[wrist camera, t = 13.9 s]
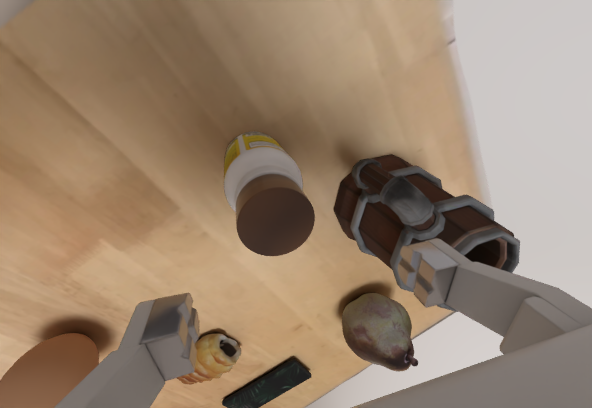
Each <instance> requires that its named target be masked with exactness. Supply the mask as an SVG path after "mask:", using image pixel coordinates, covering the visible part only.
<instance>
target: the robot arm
mask: <svg viewBox="0 0 592 408" xmlns="http://www.w3.org/2000/svg"><path fill="white" fill-rule="evenodd" d="M400 255H401V256H402V259H401V260H400V262H399V263H398V273H399V276H400V278H401V280H402V281H403V283H404V284H405V285H406V286H408V287H410V288H412V289H413V291H414V295H415V296H416V297H417V298H418V300H419V301H420V302H421V303H422V304H423V305H424V306H425V307H430V306H434V305H439V304H443V303H446V305H448V306H450V307H452V308H453V309H455V310H457V311H459V312H461V313H463V314H464V315H466V316H468V317H469V318H471V319H473V320H475V321H477V322H479V323H480V324H482V325H484V326H485V327H487V328H489V329H491V330H493V331H494V332H496V333H498V334H500V335H501V336H503V337H504V339H503V341H502V342H501V345H500V351H501V352H502V353H503V354H504V355H501V356H498V357H495V358H493V359H490V360H487V361H484V362H481V363H478V364H475V365H472V366H470V367H467V368H464V369H461V370H458V371H455V372H452V373H450V374H447V375H444V376H441V377H438V378H435V379H432V380H429V381H427V382H424V383H421V384H418V385H415V386H412V387H409V388H406V389H403V390H400V391H398V392H395V393H392V394H389V395H386V396H383V397H380V398H377V399H375V400H372V401H369V402H366V403H363V404H360V405H357V406H354V407H352V408H592V309H591V308H590V307H588V306H587V305H585V304H583V303H582V302H580V301H578V300H577V299H575V298H574V297H572V296H570V295H569V294H567V293H565V292H564V291H562V290H560V289H559V288H556V287H553V286H550V285H547V284H544V283H541V282H538V281H535V280H532V279H528V278H525V277H522V276H519V275H516V274H513V273H510V272H507V271H504V270H501V269H498V268H494V267H491V266H488V265H485V264H482V263H479V262H472V261H470V260H469V259H467V258H466V257H465V256H463V255H462V254H460V253H459V252H458V251H456V250H455V249H453V248H452V247H451V246H449V245H448V244H446V243H445V242H444V241H442V240H441V239H437V238H435V239H431V240H427V241H423V242H419V243H414V244H410V245H405V246H403V247H402V248H401V252H400ZM192 304H193V299H192V297H191V294H190V293H184V294H179V295H174V296H169V297H163V298H158V299H155V300H150V301H144V302H140V303H139V304H138V305H137V306H136V308H135V310H134V313H133V315H132V317H131V320H130V322H129V325H128V327H127V329H126V332H125V334H124V336H123V339H122V341H121V343H120V346H119V348H118V350H116V351H113V352H111V353H110V354H109V355H108V356H107V357H106V358H105V359H104V360H103V361H102V362H101V363H100V364H99V365H98V366H97V367H96V368H94V369H93V370H92V371H91V372H90V373H89V374H88V375H87V376H86V377H85V378H84V379H83V380H82V381H81V382H80V383H79V384H78V385H77V386H76V387H75V388H74V389H73V390H72V391H71V392H70V393H69V394H68V395H67V396H65V397H64V398H63V399H62V400H61V401H60V402H59V403H58V404H57V405H56V406H55V407H54V408H150V406H151V405H152V403H153V402H154V400H155V398H156V397H157V395H158V394H159V392H160V391H161V389H162V387H163V386H164V384H165V381H167V380H171V379H174V378H177V377H180V376H184V375H187V374H190V373H193V372H194V371H195V363H196V356H197V350H196V347H195V345H194V344H195V343H196V341H197V340H198V339H199V318H198V313H197V310H196V309H194V308H192Z"/></svg>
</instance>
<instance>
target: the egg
mask: <svg viewBox="0 0 592 408" xmlns="http://www.w3.org/2000/svg"><path fill="white" fill-rule="evenodd" d="M98 365H99V353H98V351H97V348H96V345H95V343H94V342H93V341H92V340H91V339H90V338H89V337H87V336H85V335H83V334H78V333H68V334H62V335H59V336H56V337H53V338H50V339H48V340H46V341H44V342H41V343H40V344H38V345H36V346H35V347H33V348H32V349H31V350H29V351H28V352H27V353H25V354H24V355H23V356H22V357H20V358H19V359H18V360H17V361H16V362H15V363H14V365H13V366H12V367H11V368H10V369H9V370H8V371H7V372H6V373H5V375H4V376H3V378H2V379H1V380H0V408H54V407H55V406H56V405H57V404H58V403H59V402H60V401H61V400H62V399H63V398H64V397H65V396H67V395H68V394H69V393H70V392H71V391H72V390H73V389H74V388H75V387H76V386H77V385H78V384H79V383H80V382H81V381H82V380H83V379H84V378H85V377H86V376H87V375H88V374H89V373H90V372H91V371H92V370H93V369H94V368H96V367H97V366H98Z"/></svg>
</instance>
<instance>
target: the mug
mask: <svg viewBox="0 0 592 408" xmlns="http://www.w3.org/2000/svg"><path fill="white" fill-rule="evenodd" d="M334 212H335V214H336V216H337V218H338V220H339V223H340V225H341V227H342V229H343V231H344V233H345V234H346V235H347V236H348V237H349V238H350V239H353V240H355V241H356V242H357V244H358V247H359V249H360V250H361V251H362V252H364V253H367V254H370V255H372V256H375V257H378V258H379V259H380V260H382V261H383V262H384V263H385V264H386V265H387V266H389V267H390V268H391V269H392V270H393V273H394V276H395V278H396V281H397V284H398V286H399V287H400V288H401V289H404V290H407V291H411V292H414V291H413V289H412V288H410V287H408V286H406V285H405V284H404V283H403V281H402V280H401V278H400V276H399V273H398V263H399V262H400V260H401V259H402V256H401V255H400V252H401V248H402V247H403V246H405V245H410V244H414V243H419V242H423V241H427V240H431V239H435V238H437V239H441V240H442V241H444V242H445V243H446V244H448V245H449V246H451V247H452V248H453V249H455V250H456V251H458V252H459V253H460V254H462V255H463V256H465V257H466V258H467V259H469V260H470V261H472V262H479V263H482V264H485V265H488V266H491V267H494V268H498V269H501V270H504V271H507V272H510V273H512V272H513V271H514V269H515V268H516V266H517V265H518V263H519V249H520V241H519V240H518V239H516V238H514V234H513V233H512V232H510V231H509V230H507V229H506V228H504V227H503V226H501V225H500V224H498V223H497V222H495V221H494V211H493V210H492V209H490V208H489V207H487V206H486V205H484V204H482V203H481V202H479V201H478V200H476V199H474V198H473V197H471V196H469V195H462V196H458V197H454V196H452V195H451V194H449V193H448V192H446V191H444V190H443V189H442V185H441V180H440V179H438V178H436V177H435V176H433V175H431V174H430V173H428V172H427V171H425V170H423V169H422V168H420V167H418V166H413V165H411V164H409V163H408V162H406V161H404V160H403V159H401V158H399V157H397V156H394V155H387V156H382V157H378V158H373V159H364V160H360V161H359V162H358V163H357V164H356V165H355V166H354V167H353V170H352V173H351V174H350V175H348V176H347V177H346V178H345V179H344V180H343V181H342V182H341V185H340V189H339V193H338V196H337V200H336V204H335V208H334ZM437 306H438V307H441V308H445V309H449V310H453V311H457V310H455V309H453V308H452V307H450V306H448V305H446V303H443V304H439V305H437ZM457 312H459V311H457Z"/></svg>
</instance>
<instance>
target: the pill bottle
mask: <svg viewBox="0 0 592 408" xmlns="http://www.w3.org/2000/svg"><path fill="white" fill-rule="evenodd" d="M266 174H279V175H283V176H286V177H288V178H290V179H292V180H293V181H294V182H296V184H297V185H298V186H299V187H300V189H301V190H302V188H303V181H302V176H301V172H300V170H299V168H298V166H297V164H296V163H295V161H294V160H293V159H292V158H291V157H290V156H289V155H288V154H287V152H286V151H285V150H284V149H283V148H282V147H281V146H280V145H279V144H278V143H277V142H276V141H275V140H274V139H273V138H272V137H270V136H269V135H267V134H264V133H261V132H247V133H244V134H241V135H239V136H238V137H236V138H235V139H234V140H233V141H232V142H231V143H230V144H229V146H228V148H227V150H226V153H225V160H224V191H225V195H226V198H227V201H228V203H229V205H230V206H231V208H232V209H233V210H234V211H235V212H236V200H237V197H238V195H239V193H240V191H241V190H242V188H243V187H244V186H245V185H246V184H247V183H248V182H250V181H251V180H253V179H254V178H256V177H259V176H262V175H266ZM302 191H303V190H302Z"/></svg>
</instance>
